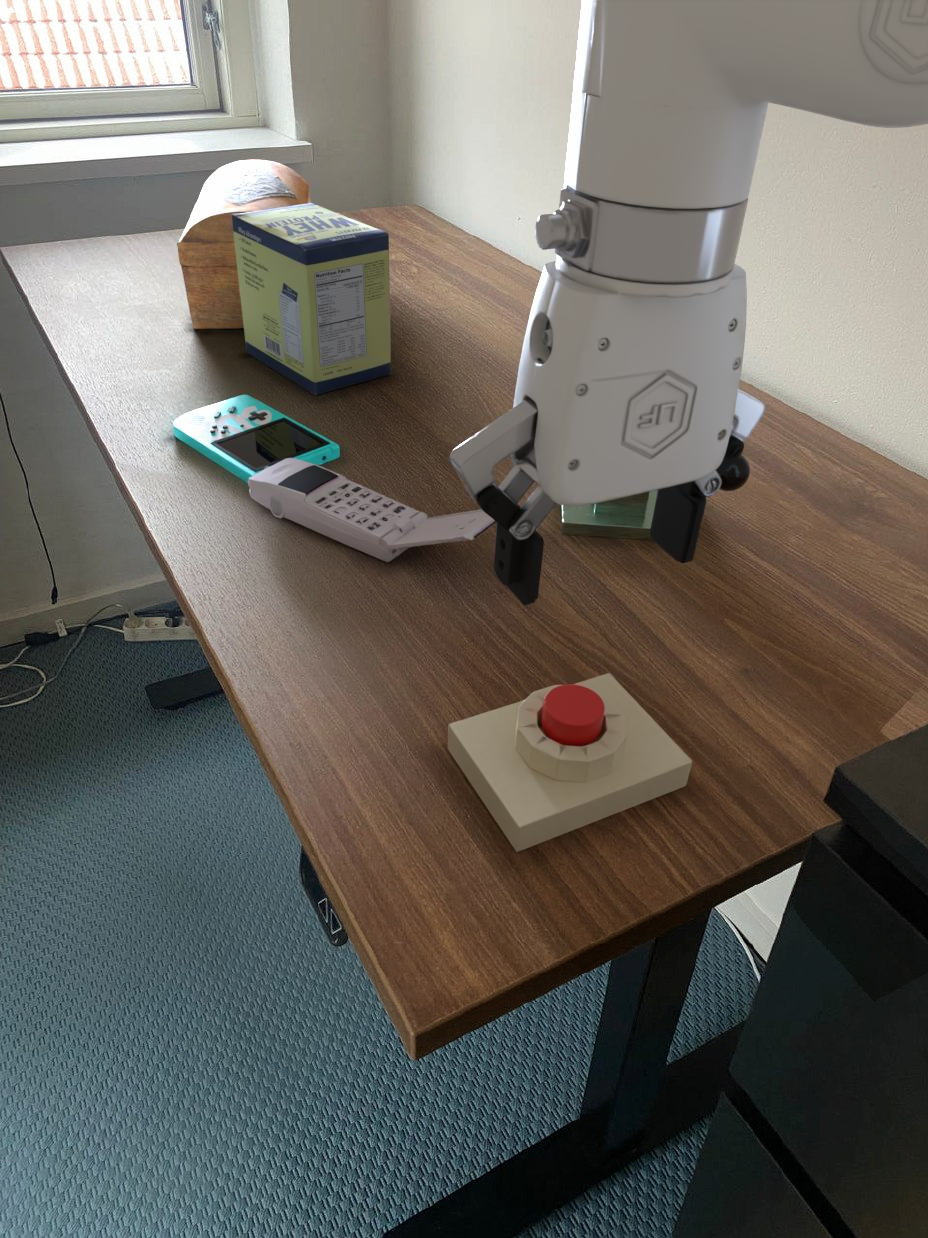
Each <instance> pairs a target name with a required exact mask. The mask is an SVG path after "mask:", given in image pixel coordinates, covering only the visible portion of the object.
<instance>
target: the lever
mask: <svg viewBox="0 0 928 1238" xmlns="http://www.w3.org/2000/svg"><path fill="white" fill-rule="evenodd" d="M750 474H751V467H750V464H749V461H748V460H747V458H746V457H745V455H743V454H741V455H740V456H739V457H738V459H737V460H736V461H735V462H734V463H733V464H732V465H731V466H730V467H729V468H728V469H727V470H726V471H725V472H724V473H723V474H722V475H721V477H720V478H721V480H722V484H721V487H720V489H719V490H721V491H724V492H733V491H737V490H739V489H741V488H742V487H743V486H745V484H747V482H748V481H749V477H750Z"/></svg>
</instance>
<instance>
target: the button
mask: <svg viewBox="0 0 928 1238" xmlns="http://www.w3.org/2000/svg"><path fill="white" fill-rule="evenodd" d="M560 685H561V686H558V687H555V688H553V689H552V690H550V691H549V692H548V693H547V695H546V696H545V698H544V704H543V712H542V721H541V724H542V728H543V730H544V732H545V734H546V735H547V736H548V737H549V738H550V739H552V740H553V741H555V742H558V743H560V744H562V745H566V746H584V745H588V744H590V743H592V742H593V741H595V740H596V739H597V738H598V737H599V735H600V733H601V728H602V723H603V717H604V711H605V706H604V703H603V700H602V699H601V697H600V696H599V695H598V694H597V693H595V692H594V691H593V690H591V689H589V688H586V687H583V686H580V685H573V684H560Z"/></svg>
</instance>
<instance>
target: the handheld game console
mask: <svg viewBox="0 0 928 1238" xmlns="http://www.w3.org/2000/svg"><path fill="white" fill-rule="evenodd" d="M172 427H173V433H174V436H175V437H176V438H177V439H178V440H180V441H181V442H183V443H184V444H186V445H188V446H189V447H191V448H192V449H193V450H195V451H197V452H198V453H200V454H201V455H203V456H205V457H206V458H208V459H209V460H210V461H212V462H214V463H215V464H217V465H218V466H220V467H222V468H223V469H225V470H226V471H228V472H230V473H231V474H233V475H234V476H236V477H238V478H239V479H240V480H242V481H243V482H245V483H247V484H248V481H249V478H250V477H251V476H253V475H255V474H257V473H259V472H261V471H263V469H264V467H266V466H269V467H271V466H272V465H274V464H276V463H278V462H280V461H282V460H284V459H287V458H295V459H299V460H302V461H306V462H309V463H312V464H315V465H318V466H321V465H323V464H326V463H329V462H331V461H334V460H336V459H339V458H340V457H341V450H340V449H341V446H340V445H339V444H338V443H336V442H334V441H333V440H330V439H329V438H327V437H325V436H323V435H321V434H320V433H318V432H316V431H315V430H312V429H311V428H309V427H307V426H305V425H303V424H301V423H300V422H298V421H296V420H295V419H292V418H291V417H289V416H287V415H285V414H284V413H281V412H280V411H278V410H276V409H274V408H272V407H271V406H269V405H267V404H265V403H264V402H262V401H260V400H258V399H256V398H255V397H252V396H250V395H249V394H245V393H244V394H241V395H238V396H237V395H236V396H233V397H231V398H228V399H225V400H222V401H219V402H215V403H212V404H210V405H206V406H203V407H200V408H197V409H194V410H191V411H189V412H186V413H184V414H182V415H180V416H179V417H177V418H176V419H174V421H173V423H172Z"/></svg>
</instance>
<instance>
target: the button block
mask: <svg viewBox="0 0 928 1238" xmlns="http://www.w3.org/2000/svg"><path fill="white" fill-rule="evenodd" d="M561 685H562V684H554V685H551V686H547V687H543V688H541V689H538V690H534V691H532V692H531V693H530V694H529V695H528V696H527V697H526V698H525V699H523V700H519V701H517V702H514V703H510V704H508V705H505V706H501V707H499V708H496V709H495V708H494V709H492V710H489V711H486V712H483V713H480V714H476V715H474V716H469V717H467V718H464V719H462V720H458V721H455V722H452V723H449V724H448V727H447V728H448V732H447V750H448V752H449V754H450V755H451V756H452V758H453V759H454V761H455V762H456V764H457V765H458V768H460V770H461V771H462V774H464V776H465V777H466V779H467V780H468V782H469V783H470V785H471V787H472V788H473V790H474V792H476V794H477V795H478V797H479V799H480V800H481V802H482V803H483V804H484V806H485V807H486V809H487V810H488V812H489V814H490V815H491V816H492V818H493V820H494V821H495V822H496V824H497V825H498V827H499V828H500V830H501V831H502V833H503V834H504V836H505V837H506V839H507V840H508V841H509V843H510V846H512V847H513V849H514V851H515V852H516V853H519V852H521V851H523V850H526V849H529V848H532V847H534V846H536V845H539V844H542V843H544V842H547V841H550V840H552V839H555V838H557V837H559V836H560V837H561V836H562V835H565V834H567V833H569V832H573V831H575V830H577V829H581V828H582V827H585V826H587V825H590V824H593V823H595V822H598V821H600V820H603V819H605V818H608V817H610V816H614V815H616V814H618V813H621V812H623V811H626V810H628V809H631V808H634V807H636V806H638V805H642V804H644V803H646V802H649V801H651V800H654V799H656V798H660V797H662V796H664V795H666V794H669V793H672V792H674V791H677V790H679V789H683V788H685V787H687V784H688V780H689V776H690V772H691V769H692V766H693V760H692V759H691V758H690V757H689V756H688V755H687V754H686V753H685V752H684V751H683V749H682V748H681V747H680V746H679V745H678V744H677V743H676V742H675V740H673V739H672V738H671V737H670V736H669V735H668V734H667V732H665V730H664V729H663V728H662V727H661V726H660V725H659V724H658V723H657V722H656V721H655V720H654V719H653V718H652V716H650V714H648V712H647V711H646V710H645V709H644V708H643V707H642V706H641V704H639V702H637V701H636V699H635V698H634V697H633V696H632V695H631V694H630V693H629V692H628V691H627V690H626V688H625V687H624V686H622V684H620V683H619V681H618V680H617V679H616V678H615V677H614V675H612V674H611V673H610V672H607V673H604V674H601V675H597V676H594V677H592V678H588V679H585V680H582V681H578V682H576V683H573V684H572V685H580V686H583V687H586V688H589V689H591V690H593V691H594V692H595V693H597V694H598V695H599V696H600V697H601V699H602V700H603V703H604V706H605V711H604V717H603V723H602V728H601V733H600V735H599V737H598V738H597V739H596V740H595V741H593V742H592V743H590V744H588V745H584V746H566V745H562V744H560V743H558V742H555V741H553V740H552V739H550V738H549V737H548V736H547V735H546V734H545V732H544V730H543V728H542V724H541V721H542V712H543V704H544V698H545V696H546V695H547V693H548V692H549V691H550V690H552V689H553V688H555V687H558V686H561Z"/></svg>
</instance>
